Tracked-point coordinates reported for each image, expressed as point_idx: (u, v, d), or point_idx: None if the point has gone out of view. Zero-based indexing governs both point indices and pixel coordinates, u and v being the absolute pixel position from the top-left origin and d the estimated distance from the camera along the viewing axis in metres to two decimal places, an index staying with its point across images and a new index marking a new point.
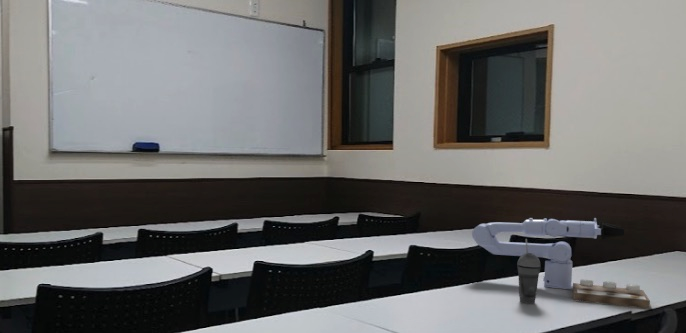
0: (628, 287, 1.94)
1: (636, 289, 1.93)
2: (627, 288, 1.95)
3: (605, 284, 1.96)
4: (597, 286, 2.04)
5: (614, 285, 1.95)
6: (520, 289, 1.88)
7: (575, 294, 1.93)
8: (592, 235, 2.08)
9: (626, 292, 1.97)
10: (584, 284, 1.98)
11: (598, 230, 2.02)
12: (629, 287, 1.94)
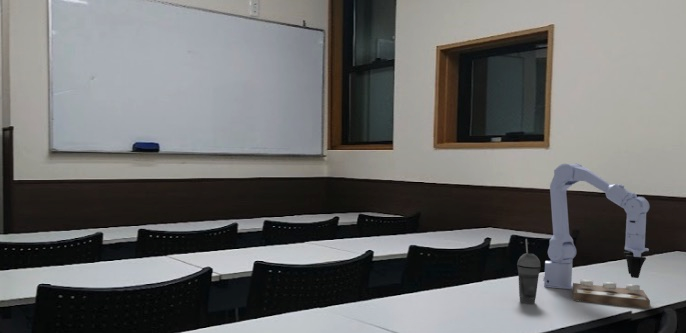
0: (628, 287, 1.94)
1: (636, 289, 1.93)
2: (627, 288, 1.95)
3: (605, 284, 1.96)
4: (597, 286, 2.04)
5: (614, 285, 1.95)
6: (520, 289, 1.88)
7: (575, 294, 1.93)
8: (629, 246, 1.93)
9: (626, 292, 1.97)
10: (584, 284, 1.98)
11: (639, 254, 1.88)
12: (629, 287, 1.94)
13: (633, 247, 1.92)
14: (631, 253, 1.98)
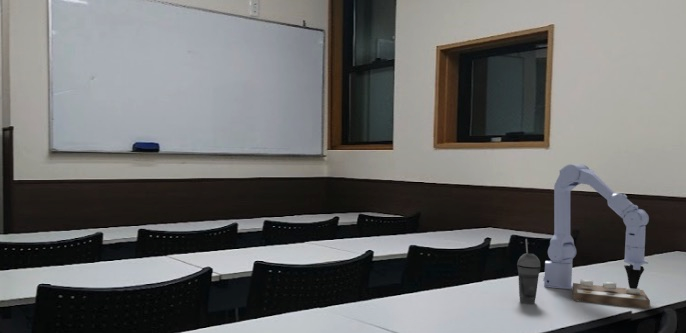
0: (628, 290, 1.94)
1: (636, 292, 1.93)
2: (627, 291, 1.95)
3: (605, 284, 1.96)
4: (597, 286, 2.04)
5: (614, 285, 1.95)
6: (520, 289, 1.88)
7: (575, 294, 1.93)
8: (628, 258, 1.93)
9: None
10: (584, 284, 1.98)
11: (638, 267, 1.88)
12: (629, 290, 1.94)
13: (632, 260, 1.92)
14: None
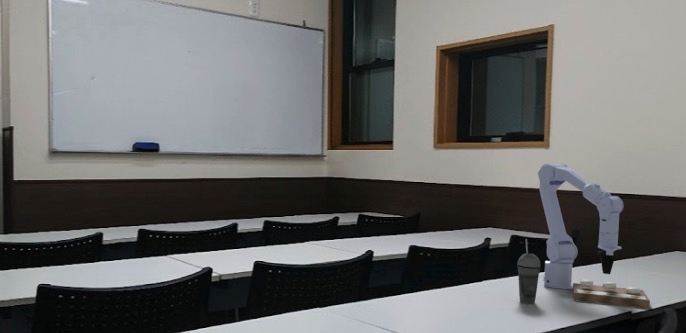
0: (628, 290, 1.94)
1: (636, 292, 1.93)
2: (627, 291, 1.95)
3: (605, 284, 1.96)
4: (597, 286, 2.04)
5: (614, 285, 1.95)
6: (520, 289, 1.88)
7: (575, 294, 1.93)
8: (602, 244, 1.96)
9: None
10: (584, 284, 1.98)
11: (611, 252, 1.90)
12: (629, 290, 1.94)
13: (606, 245, 1.95)
14: None
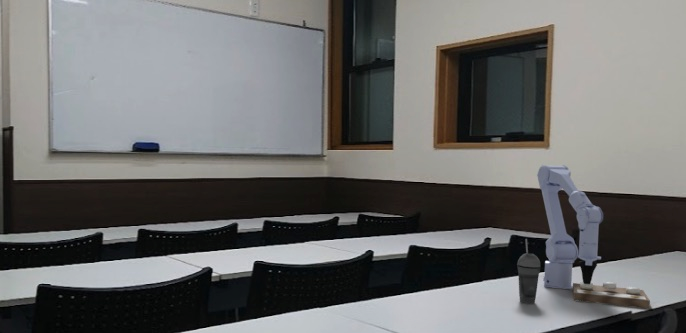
0: (628, 290, 1.94)
1: (636, 292, 1.93)
2: (627, 291, 1.95)
3: (605, 284, 1.96)
4: (597, 286, 2.04)
5: (614, 285, 1.95)
6: (520, 289, 1.88)
7: (575, 294, 1.93)
8: (582, 254, 1.98)
9: None
10: (584, 287, 1.98)
11: (590, 263, 1.92)
12: (629, 290, 1.94)
13: (586, 256, 1.97)
14: None
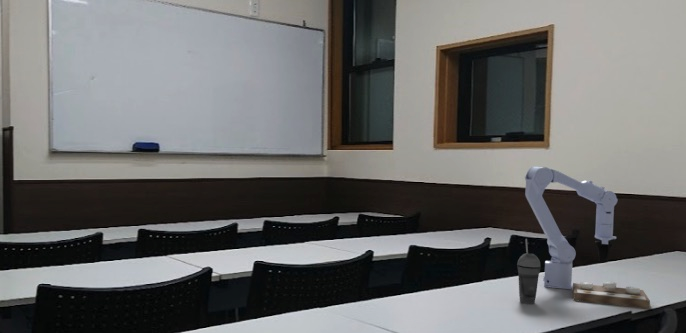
0: (628, 290, 1.94)
1: (636, 292, 1.93)
2: (627, 291, 1.95)
3: (605, 284, 1.96)
4: (597, 286, 2.04)
5: (614, 285, 1.95)
6: (520, 289, 1.88)
7: (575, 294, 1.93)
8: (598, 234, 2.12)
9: None
10: (584, 287, 1.98)
11: (606, 241, 2.07)
12: (629, 290, 1.94)
13: (602, 235, 2.11)
14: (601, 242, 2.14)
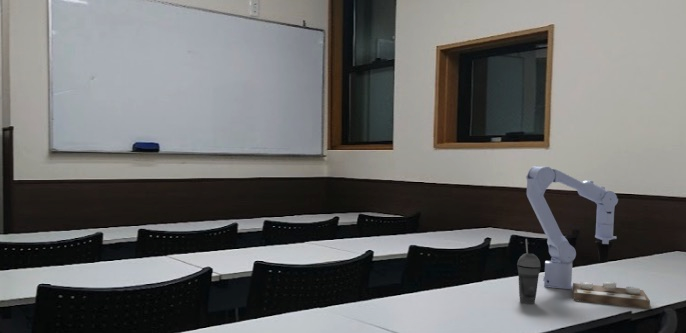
0: (628, 290, 1.94)
1: (636, 292, 1.93)
2: (627, 291, 1.95)
3: (605, 284, 1.96)
4: (597, 286, 2.04)
5: (614, 285, 1.95)
6: (520, 289, 1.88)
7: (575, 294, 1.93)
8: (599, 234, 2.13)
9: None
10: (584, 287, 1.98)
11: (607, 241, 2.07)
12: (629, 290, 1.94)
13: (602, 235, 2.12)
14: (602, 242, 2.15)
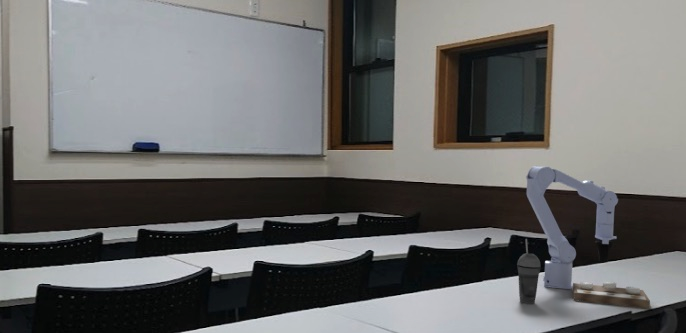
0: (628, 290, 1.94)
1: (636, 292, 1.93)
2: (627, 291, 1.95)
3: (605, 284, 1.96)
4: (597, 286, 2.04)
5: (614, 285, 1.95)
6: (520, 289, 1.88)
7: (575, 294, 1.93)
8: (599, 234, 2.13)
9: None
10: (584, 287, 1.98)
11: (607, 241, 2.07)
12: (629, 290, 1.94)
13: (602, 235, 2.12)
14: (602, 242, 2.15)
